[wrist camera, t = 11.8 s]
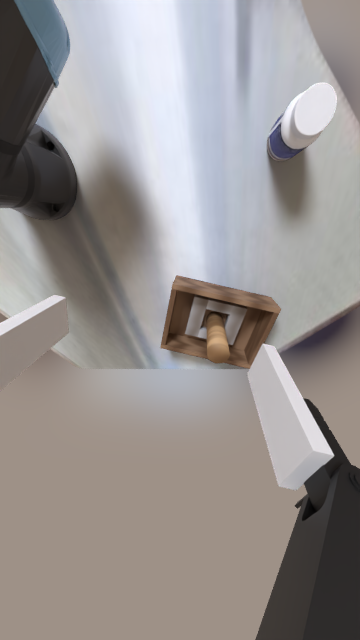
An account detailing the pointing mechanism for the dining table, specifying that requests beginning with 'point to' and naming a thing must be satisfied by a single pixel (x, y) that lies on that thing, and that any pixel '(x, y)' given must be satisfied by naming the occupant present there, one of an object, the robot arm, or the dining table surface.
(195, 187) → the dining table surface
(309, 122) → the pill bottle
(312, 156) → the dining table surface
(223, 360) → the dowel
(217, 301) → the box
